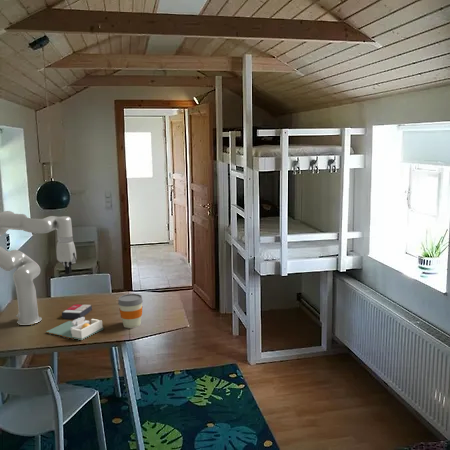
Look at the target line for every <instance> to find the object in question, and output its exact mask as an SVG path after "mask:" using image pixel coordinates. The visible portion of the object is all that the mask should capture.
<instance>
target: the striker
mask: <svg viewBox="0 0 450 450" xmlns="http://www.w3.org/2000/svg"><path fill="white" fill-rule="evenodd" d="M72 321H73V322H71V324H72V325H73V327H71V328H70V329H73V328H75V329H80V330H81V329H82V325H83V324H85V323H88V324H90V325H91V321H90V320H87V319H86V317H85V316H84V317H81V318H78V319H72ZM71 334H72V330H71Z"/></svg>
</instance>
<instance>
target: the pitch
mask: <svg viewBox="0 0 450 450" xmlns="http://www.w3.org/2000/svg"><path fill="white" fill-rule="evenodd" d="M71 322H73V320H68V321H66V322H64V323H61V324H60V325H57V326H55V327H53V328H51V329H48V330H46V331H45V333H46V332H49V333H53V334H57V335H62V336H66V337H70V338H74V339H78V340H77V341H79V340H83V339H84V340H86V339H88V338H90V337H91V335H92V336H94V335H95V333H96V334H97V333H99V332H101V331H103V330H104V327H103V328H101V329H99V330H97V331H96V332H94V333H92V334H90V335H88V336H86V337H84V338H82V339H81V338H76V337H72V334H71V329H70V328H71V327H73V325H72V324H71ZM93 334H94V335H93ZM89 336H90V337H89ZM87 337H88V338H87ZM85 338H86V339H85ZM74 339H73V340H74ZM84 340H83V341H84Z"/></svg>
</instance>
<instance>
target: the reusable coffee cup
mask: <svg viewBox="0 0 450 450" xmlns="http://www.w3.org/2000/svg"><path fill="white" fill-rule="evenodd" d="M143 301H144V300H143V296H142V295H141V294H138V293H127V294H123V295H121V296H119V297H118V301H117V302H118V304H117V305H118V306H119V314H120V318H121V319H122V320H121V321H122V324H123V327H124V328H127V329H133V328H137V327H140V326H141V323H142V316H143Z"/></svg>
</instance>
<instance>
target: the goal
mask: <svg viewBox="0 0 450 450" xmlns="http://www.w3.org/2000/svg"><path fill="white" fill-rule="evenodd" d="M101 328H103V329H104V325H103V320H102V319H96V318H91V319H90V325H89V326H87V327H85V328H83V329H81V330H80V329H75V328H73V329H71V330H72V337H76V338H81V339H82V338H84V337H86V336H88V335H90V334H92V333H94V332H96V331H97V330H99V329H101Z"/></svg>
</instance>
